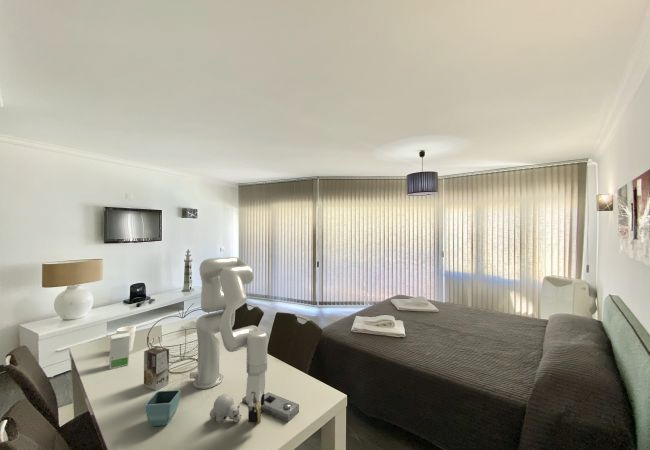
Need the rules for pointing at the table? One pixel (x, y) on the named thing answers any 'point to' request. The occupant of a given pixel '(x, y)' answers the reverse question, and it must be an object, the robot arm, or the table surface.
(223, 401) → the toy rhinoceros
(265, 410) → the grey flat bar
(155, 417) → the flower pot
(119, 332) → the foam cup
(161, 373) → the coffee box
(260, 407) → the pin
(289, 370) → the table surface
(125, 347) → the skincare box
